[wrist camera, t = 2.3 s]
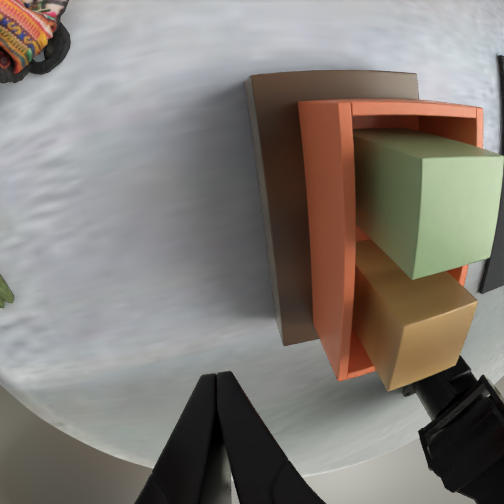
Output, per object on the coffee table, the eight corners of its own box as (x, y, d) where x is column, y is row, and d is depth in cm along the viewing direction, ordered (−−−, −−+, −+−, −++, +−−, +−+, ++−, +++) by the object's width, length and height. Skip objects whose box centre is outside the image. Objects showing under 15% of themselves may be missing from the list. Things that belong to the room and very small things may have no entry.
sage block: (403, 199, 16) (490, 258, 10) (338, 209, 16) (411, 280, 9) (403, 127, 14) (504, 155, 8) (333, 130, 14) (421, 158, 8)
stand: (387, 294, 23) (405, 316, 20) (275, 318, 23) (283, 346, 20) (390, 74, 16) (417, 73, 13) (244, 80, 15) (250, 75, 13)
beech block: (396, 290, 19) (455, 365, 12) (338, 304, 18) (387, 392, 12) (402, 232, 17) (479, 300, 11) (339, 244, 17) (403, 326, 10)
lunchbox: (408, 299, 20) (446, 346, 15) (312, 323, 19) (337, 382, 15) (419, 99, 14) (483, 108, 9) (297, 101, 14) (336, 102, 9)
